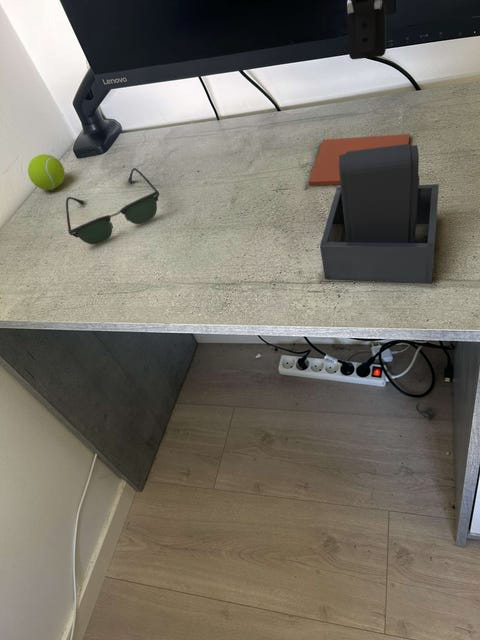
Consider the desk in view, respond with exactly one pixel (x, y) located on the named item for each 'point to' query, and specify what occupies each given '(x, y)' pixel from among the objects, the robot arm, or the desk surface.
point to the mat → (333, 148)
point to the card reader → (380, 194)
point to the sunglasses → (102, 226)
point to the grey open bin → (380, 248)
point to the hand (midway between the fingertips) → (374, 34)
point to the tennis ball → (46, 172)
